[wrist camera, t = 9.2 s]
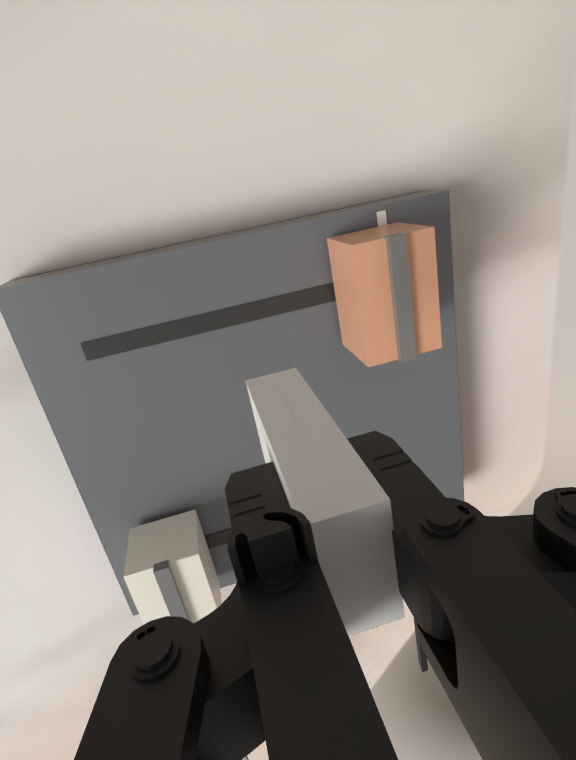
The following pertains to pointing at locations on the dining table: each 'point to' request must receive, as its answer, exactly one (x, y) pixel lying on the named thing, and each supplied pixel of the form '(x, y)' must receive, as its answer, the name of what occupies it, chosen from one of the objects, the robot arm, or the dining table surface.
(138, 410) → the console
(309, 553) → the robot arm
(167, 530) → the block
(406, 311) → the fader terracotta
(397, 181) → the dining table surface
